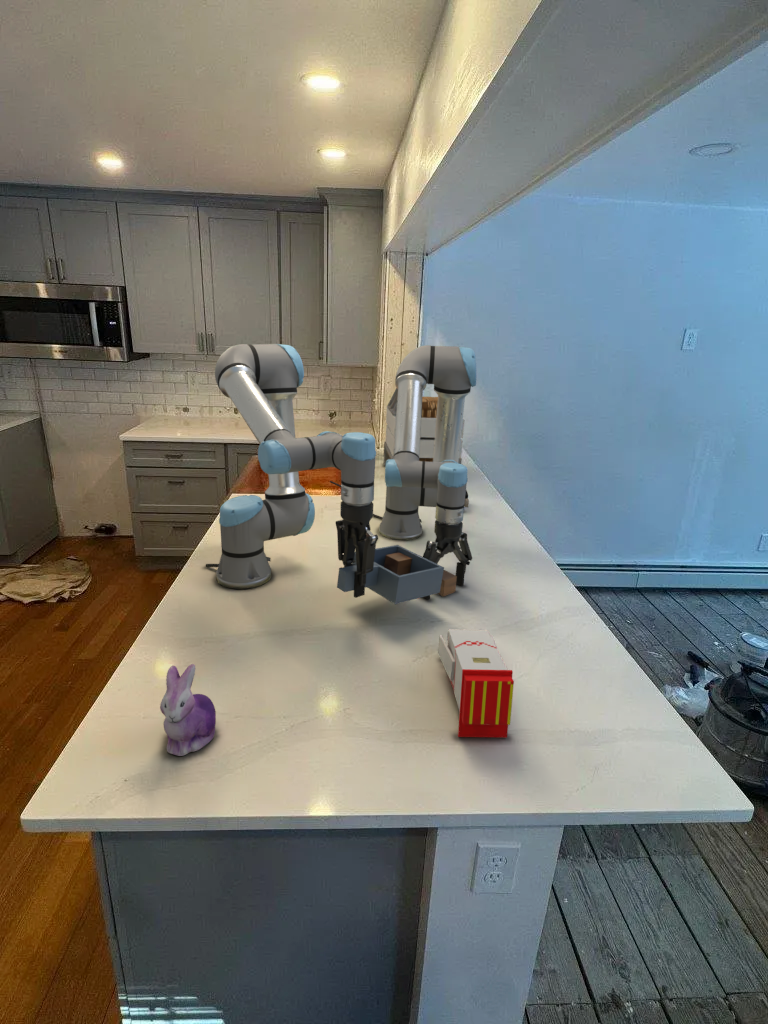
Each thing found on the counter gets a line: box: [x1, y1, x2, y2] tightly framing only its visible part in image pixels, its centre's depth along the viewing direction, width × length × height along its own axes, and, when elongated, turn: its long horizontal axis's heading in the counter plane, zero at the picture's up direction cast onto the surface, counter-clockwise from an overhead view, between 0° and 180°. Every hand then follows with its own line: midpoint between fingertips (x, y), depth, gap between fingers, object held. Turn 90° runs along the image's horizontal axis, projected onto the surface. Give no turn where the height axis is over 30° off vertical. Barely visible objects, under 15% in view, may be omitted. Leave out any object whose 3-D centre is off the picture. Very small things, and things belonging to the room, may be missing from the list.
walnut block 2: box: [436, 569, 457, 598], centre depth 160 cm, size 5×5×5 cm
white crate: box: [383, 387, 465, 467], centre depth 268 cm, size 34×33×41 cm
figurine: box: [159, 663, 217, 757], centre depth 100 cm, size 9×10×15 cm
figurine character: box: [464, 489, 470, 508], centre depth 229 cm, size 7×8×15 cm
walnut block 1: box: [384, 552, 412, 576], centre depth 151 cm, size 5×5×5 cm
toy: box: [437, 628, 515, 738], centre depth 117 cm, size 12×13×30 cm
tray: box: [336, 544, 445, 605], centre depth 142 cm, size 18×26×7 cm
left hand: (354, 592), depth 138 cm, fingers closed on tray, 3 cm apart
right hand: (442, 590), depth 161 cm, fingers open, 13 cm apart
